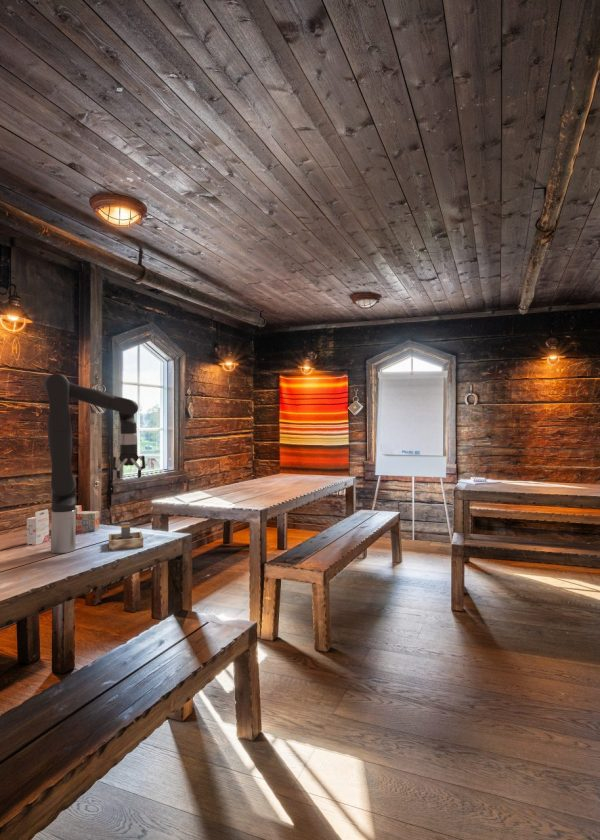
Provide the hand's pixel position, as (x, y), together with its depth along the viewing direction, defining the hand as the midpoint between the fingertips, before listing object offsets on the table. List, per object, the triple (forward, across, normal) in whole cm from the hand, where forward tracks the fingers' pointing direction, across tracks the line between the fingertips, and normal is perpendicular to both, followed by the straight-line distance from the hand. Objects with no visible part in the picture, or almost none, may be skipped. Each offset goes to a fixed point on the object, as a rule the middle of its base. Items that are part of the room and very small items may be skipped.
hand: (129, 478), depth 223 cm
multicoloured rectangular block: (+29, -25, +33) cm, 51 cm away
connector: (+28, -2, -7) cm, 29 cm away
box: (+29, -2, -7) cm, 30 cm away
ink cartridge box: (+29, -39, +12) cm, 50 cm away
